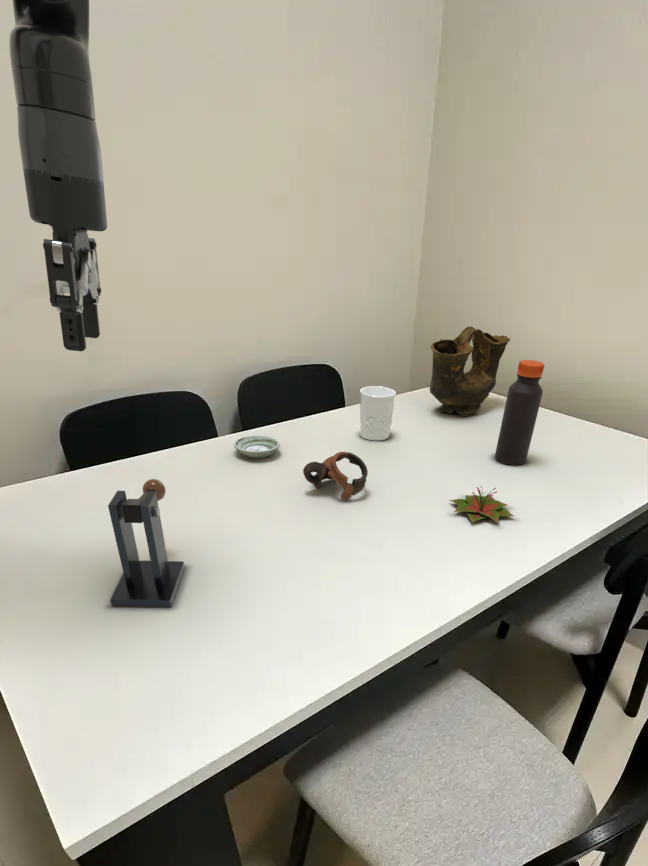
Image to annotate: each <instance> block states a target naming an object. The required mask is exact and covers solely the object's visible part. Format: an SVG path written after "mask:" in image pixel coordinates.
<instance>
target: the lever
mask: <svg viewBox="0 0 648 866" xmlns="http://www.w3.org/2000/svg"><path fill="white" fill-rule="evenodd" d="M148 491H156V495H157V501H158V502H159V501H162V500H163V499H164V497H165V496H166V492H167V490H166V487H165V485H164V483H163V482H162V481H161V480H159V479H156V478H151V479H150V478H149V479H148V480H146V481H145V482H144V484H143V485H142V493H143V494H141V495H140V497H138V498H128V499H127V501H126V502H125V503H124V504H123V505H122V508H123V515H124V522H125V523H132V524H142V523H143V518H142V513H141V508H140V506H141V504H142V502H143V500H144V499H145V497H146V495H147V493H148Z"/></svg>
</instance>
